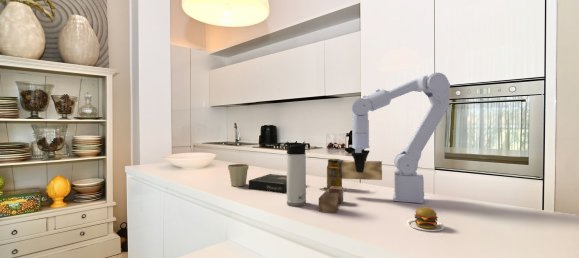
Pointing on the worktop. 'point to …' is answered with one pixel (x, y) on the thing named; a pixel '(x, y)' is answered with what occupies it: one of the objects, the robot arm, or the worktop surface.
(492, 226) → the worktop surface
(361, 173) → the rail
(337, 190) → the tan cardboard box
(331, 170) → the condiment
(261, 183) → the portable cd player
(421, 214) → the hamburger
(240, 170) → the flower pot
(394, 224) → the worktop surface
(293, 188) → the travel mug
